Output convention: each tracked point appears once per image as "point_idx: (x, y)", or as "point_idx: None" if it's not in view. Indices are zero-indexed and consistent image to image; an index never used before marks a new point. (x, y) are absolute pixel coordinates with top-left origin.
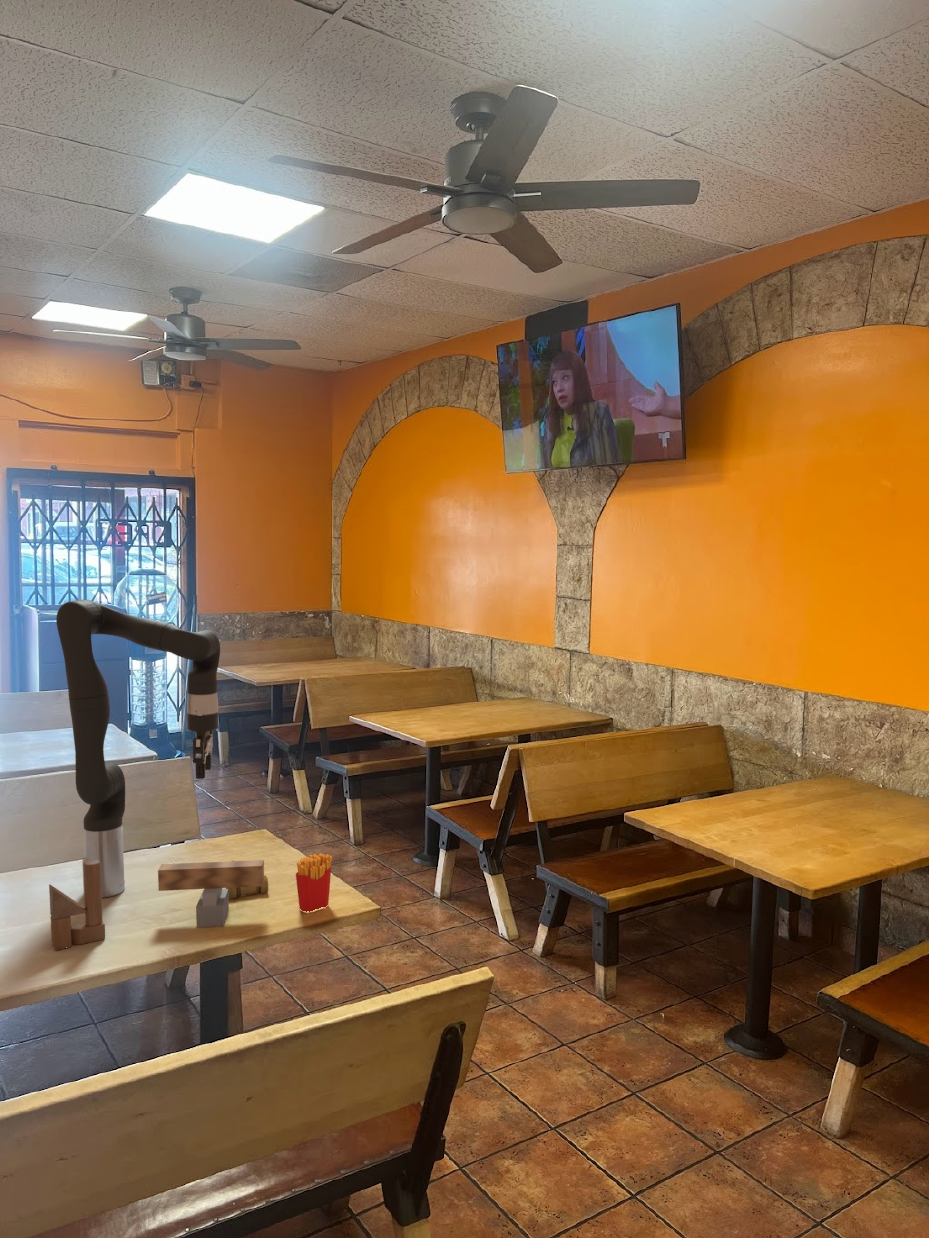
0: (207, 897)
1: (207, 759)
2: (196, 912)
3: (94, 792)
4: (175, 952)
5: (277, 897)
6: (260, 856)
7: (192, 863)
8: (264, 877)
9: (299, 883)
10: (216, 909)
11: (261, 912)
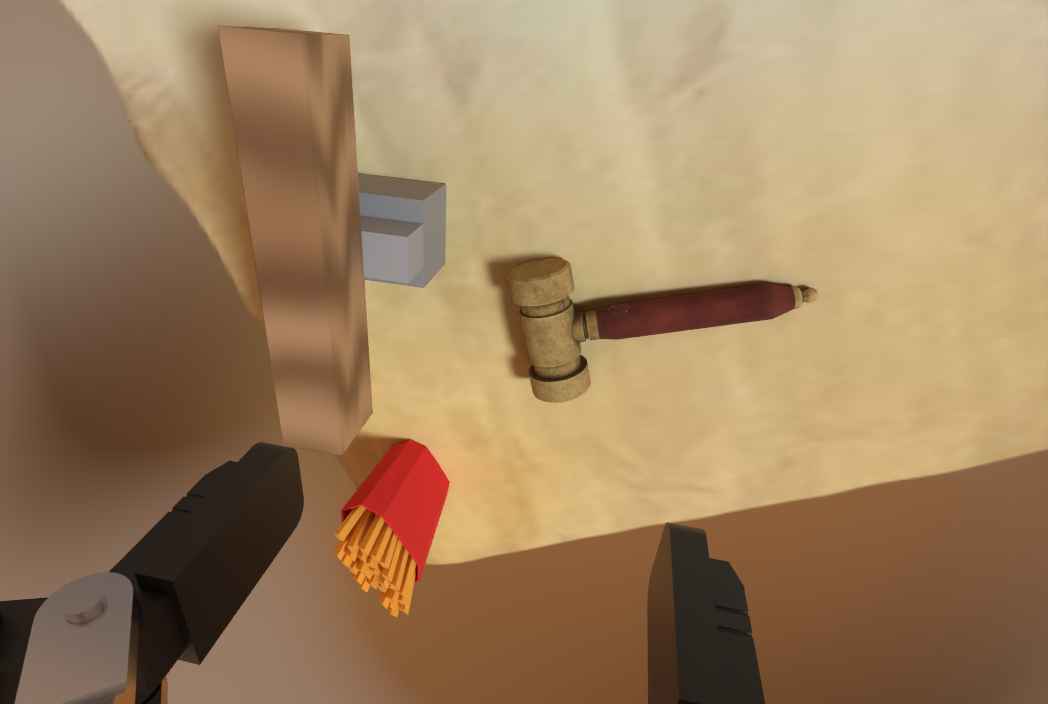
0: None
1: (659, 685)
2: None
3: None
4: (149, 115)
5: (509, 398)
6: (931, 381)
7: (308, 195)
8: (547, 396)
9: (359, 492)
10: None
11: (407, 351)
